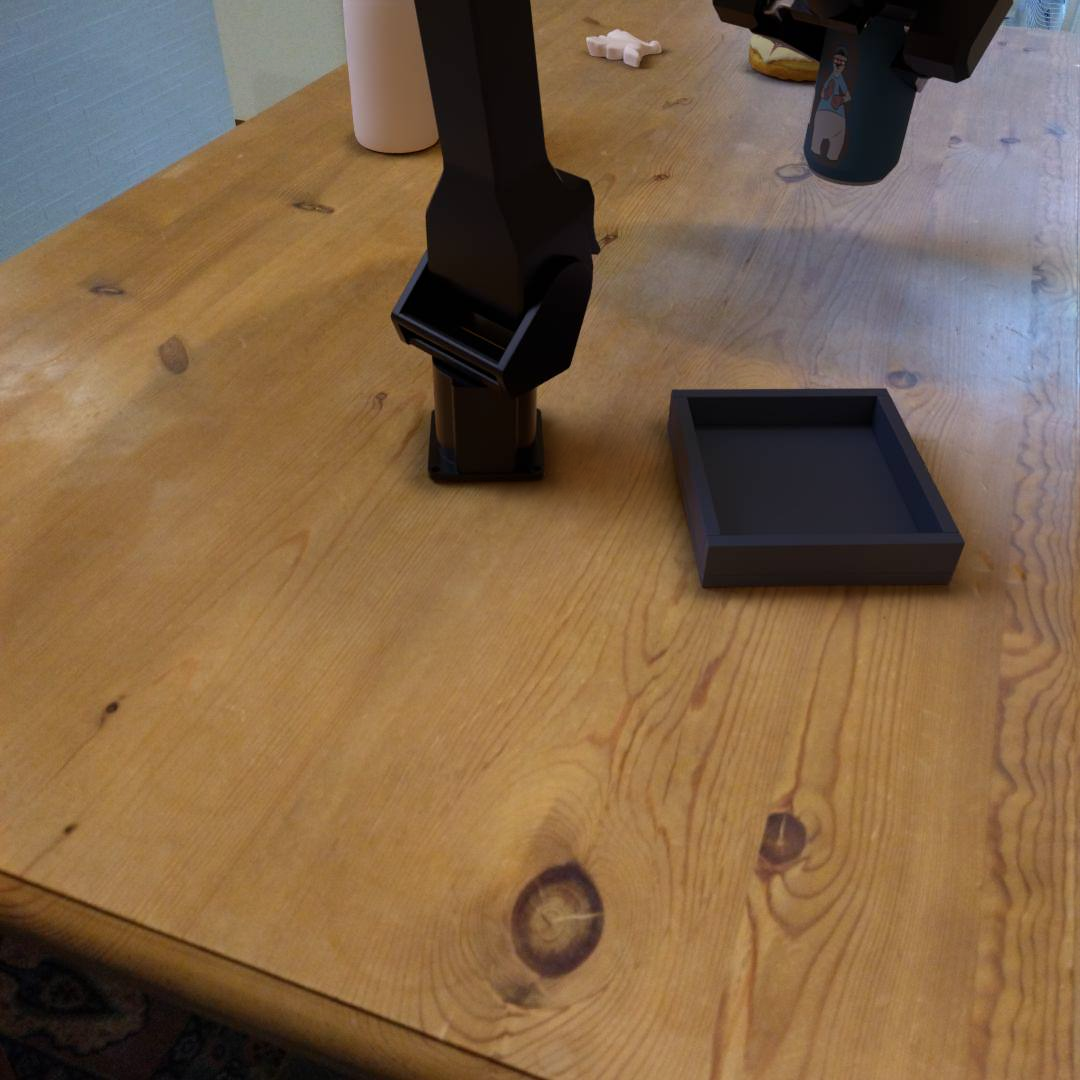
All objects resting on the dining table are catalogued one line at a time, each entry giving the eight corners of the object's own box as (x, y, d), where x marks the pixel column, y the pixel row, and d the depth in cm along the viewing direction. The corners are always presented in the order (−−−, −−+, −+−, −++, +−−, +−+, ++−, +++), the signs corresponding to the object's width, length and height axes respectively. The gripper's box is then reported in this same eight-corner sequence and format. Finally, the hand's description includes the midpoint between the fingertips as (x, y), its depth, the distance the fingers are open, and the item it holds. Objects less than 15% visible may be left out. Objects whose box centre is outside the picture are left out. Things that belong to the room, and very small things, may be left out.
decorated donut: (738, 53, 116) (743, 16, 114) (835, 54, 117) (842, 17, 114) (755, 85, 108) (761, 46, 106) (859, 86, 109) (867, 47, 106)
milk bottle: (452, 149, 94) (442, -110, 81) (367, 160, 92) (343, -105, 79) (426, 119, 100) (413, -128, 87) (346, 129, 98) (320, -124, 84)
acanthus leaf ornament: (638, 69, 112) (639, 50, 111) (579, 58, 114) (580, 40, 113) (665, 49, 117) (667, 31, 116) (609, 39, 119) (610, 21, 118)
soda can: (899, 161, 80) (943, -12, 72) (889, 196, 75) (935, 14, 68) (807, 147, 82) (841, -23, 74) (792, 180, 77) (826, 1, 69)
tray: (950, 584, 53) (966, 543, 51) (701, 587, 53) (708, 546, 51) (875, 427, 63) (886, 387, 62) (666, 428, 63) (671, 389, 61)
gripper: (1056, -189, 57) (1066, -1, 70) (763, -224, 66) (821, -52, 79) (947, -2, 57) (977, 148, 71) (672, -63, 67) (745, 80, 80)
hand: (876, 74), depth 75 cm, fingers closed on soda can, 7 cm apart
